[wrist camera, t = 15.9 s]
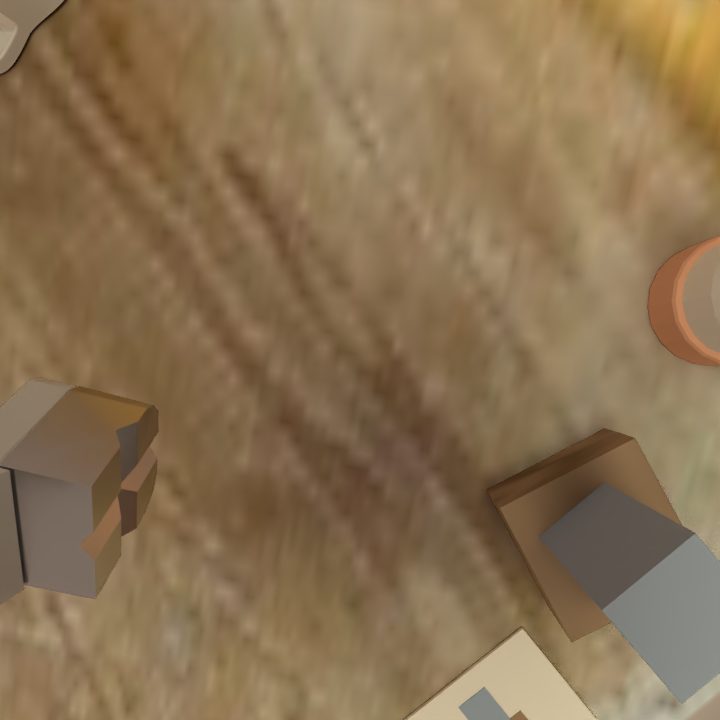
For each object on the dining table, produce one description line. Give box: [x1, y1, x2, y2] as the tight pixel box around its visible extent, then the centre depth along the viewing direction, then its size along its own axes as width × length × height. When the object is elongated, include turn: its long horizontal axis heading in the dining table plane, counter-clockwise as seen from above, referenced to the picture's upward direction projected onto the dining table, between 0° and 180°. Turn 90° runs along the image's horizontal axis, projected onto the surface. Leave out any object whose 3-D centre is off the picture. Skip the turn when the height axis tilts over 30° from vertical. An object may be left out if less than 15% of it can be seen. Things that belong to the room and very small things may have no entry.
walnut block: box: [487, 429, 682, 642], centre depth 36 cm, size 8×8×5 cm
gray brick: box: [539, 482, 720, 704], centre depth 29 cm, size 4×4×10 cm
